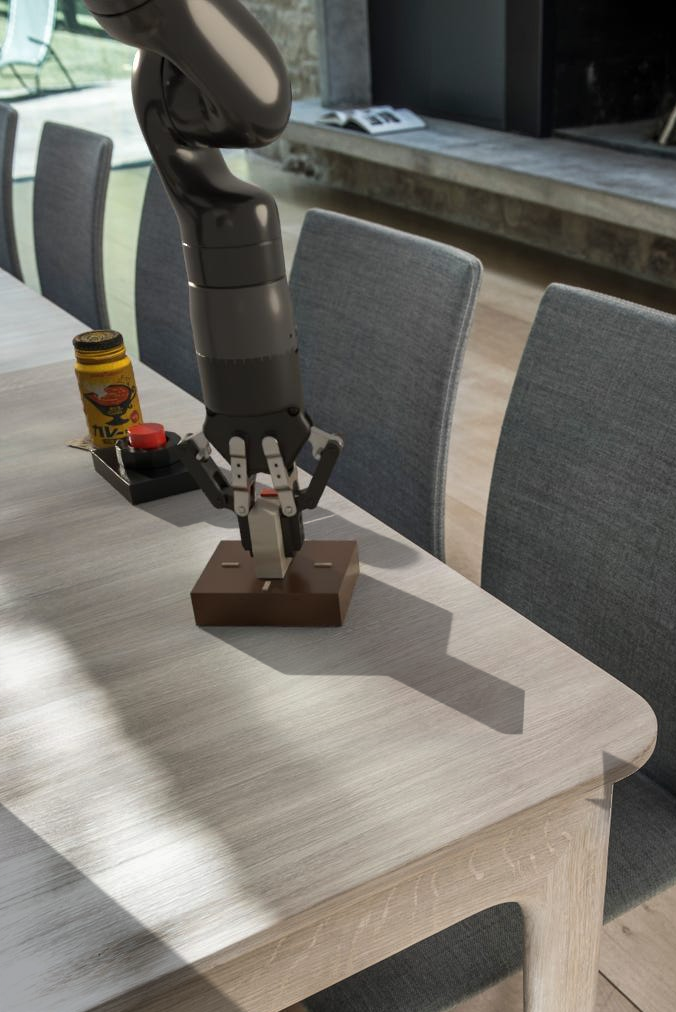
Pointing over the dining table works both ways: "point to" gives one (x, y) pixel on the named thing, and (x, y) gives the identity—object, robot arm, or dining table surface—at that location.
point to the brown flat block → (277, 587)
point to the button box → (144, 470)
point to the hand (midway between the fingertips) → (275, 552)
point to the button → (147, 435)
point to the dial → (267, 536)
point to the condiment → (105, 388)
